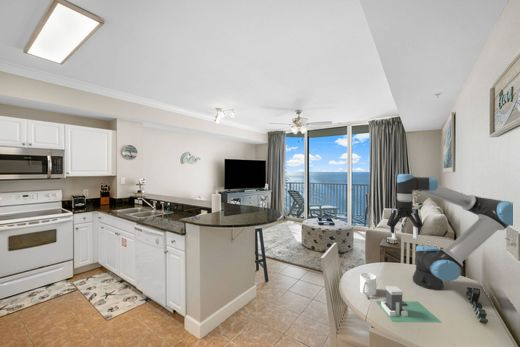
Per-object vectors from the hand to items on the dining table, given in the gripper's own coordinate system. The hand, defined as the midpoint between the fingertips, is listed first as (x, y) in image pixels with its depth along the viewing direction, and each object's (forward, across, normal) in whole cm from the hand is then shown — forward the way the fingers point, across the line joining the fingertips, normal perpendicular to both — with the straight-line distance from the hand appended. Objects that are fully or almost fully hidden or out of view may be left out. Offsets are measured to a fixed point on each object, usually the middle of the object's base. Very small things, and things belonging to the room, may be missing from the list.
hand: (404, 238), depth 127 cm
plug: (+30, +17, +19) cm, 39 cm away
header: (+30, +17, +19) cm, 39 cm away
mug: (+31, +23, +3) cm, 39 cm away
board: (+31, +11, +19) cm, 38 cm away
